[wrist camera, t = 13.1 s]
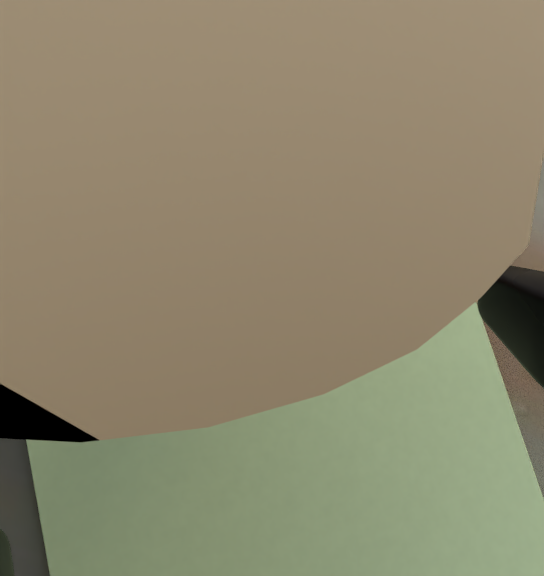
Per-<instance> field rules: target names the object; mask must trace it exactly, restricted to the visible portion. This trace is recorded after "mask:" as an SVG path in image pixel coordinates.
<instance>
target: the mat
mask: <svg viewBox="0 0 544 576" xmlns="http://www.w3.org/2000/svg"><path fill="white" fill-rule="evenodd" d="M26 442H27V448H28V454H29V459H30V465H31V471H32V477H33V482H34V488H35V494H36V499H37V505H38V511H39V516H40V522H41V528H42V533H43V539H44V545H45V550H46V556H47V562H48V567H49V573H50V576H544V499H543V496H542V493H541V490H540V487H539V484H538V481H537V478H536V476H535V473H534V470H533V467H532V464H531V461H530V458H529V455H528V452H527V449H526V446H525V443H524V441H523V438H522V435H521V432H520V429H519V426H518V423H517V420H516V417H515V414H514V411H513V409H512V406H511V403H510V400H509V397H508V394H507V391H506V388H505V385H504V382H503V379H502V376H501V374H500V371H499V368H498V365H497V362H496V359H495V356H494V353H493V350H492V347H491V344H490V342H489V339H488V336H487V333H486V330H485V327H484V324H483V321H482V318H481V316H480V314H479V311H478V307H477V304H476V302H475V303H474V304H472V305H471V306H470V307H469V308H468V309H466V310H465V311H464V312H463V313H461V314H460V315H459V316H458V317H456V318H455V319H454V320H453V321H452V322H450V323H449V324H448V325H447V326H445V327H444V328H443V329H442V330H440V331H439V332H438V333H437V334H436V335H434V336H433V337H432V338H431V339H429V340H428V341H427V342H426V343H424V344H423V345H422V346H421V347H420V348H418V349H417V350H415V351H413V352H411V353H409V354H407V355H405V356H402V357H400V358H398V359H396V360H394V361H392V362H390V363H388V364H386V365H384V366H382V367H380V368H378V369H375V370H373V371H371V372H369V373H367V374H365V375H363V376H361V377H359V378H357V379H355V380H353V381H351V382H348V383H346V384H344V385H342V386H340V387H338V388H336V389H334V390H332V391H330V392H328V393H326V394H323V395H320V396H316V397H313V398H309V399H306V400H302V401H299V402H295V403H292V404H288V405H285V406H281V407H278V408H274V409H271V410H267V411H264V412H260V413H257V414H253V415H250V416H246V417H243V418H239V419H236V420H232V421H229V422H225V423H222V424H218V425H215V426H211V427H208V428H199V429H191V430H183V431H174V432H166V433H157V434H149V435H141V436H132V437H124V438H116V439H107V440H99V441H90V442H81V443H80V442H62V441H44V440H26Z"/></svg>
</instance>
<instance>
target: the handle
mask: <svg viewBox="0 0 544 576" xmlns="http://www.w3.org/2000/svg"><path fill="white" fill-rule="evenodd" d="M543 154H544V0H0V438H7V439H25V440H44V441H62V442H80V443H81V442H90V441H99V440H107V439H116V438H124V437H132V436H141V435H149V434H157V433H166V432H174V431H183V430H191V429H199V428H208V427H211V426H215V425H218V424H222V423H225V422H229V421H232V420H236V419H239V418H243V417H246V416H250V415H253V414H257V413H260V412H264V411H267V410H271V409H274V408H278V407H281V406H285V405H288V404H292V403H295V402H299V401H302V400H306V399H309V398H313V397H316V396H320V395H323V394H326V393H328V392H330V391H332V390H334V389H336V388H338V387H340V386H342V385H344V384H346V383H348V382H351V381H353V380H355V379H357V378H359V377H361V376H363V375H365V374H367V373H369V372H371V371H373V370H375V369H378V368H380V367H382V366H384V365H386V364H388V363H390V362H392V361H394V360H396V359H398V358H400V357H402V356H405V355H407V354H409V353H411V352H413V351H415V350H417V349H418V348H420V347H421V346H422V345H423V344H424V343H426V342H427V341H428V340H429V339H431V338H432V337H433V336H434V335H436V334H437V333H438V332H439V331H440V330H442V329H443V328H444V327H445V326H447V325H448V324H449V323H450V322H452V321H453V320H454V319H455V318H456V317H458V316H459V315H460V314H461V313H463V312H464V311H465V310H466V309H468V308H469V307H470V306H471V305H472V304H474V303H475V302H476V301H477V300H479V299H480V298H481V297H482V296H483V295H484V294H485V293H486V291H487V290H488V289H489V288H490V287H491V286H492V285H493V284H494V283H495V282H496V280H497V279H498V278H499V277H500V276H501V275H502V274H503V273H504V272H505V271H506V269H507V268H508V267H509V266H510V265H511V264H512V263H513V262H514V261H515V260H516V258H517V257H518V256H519V255H520V254H521V253H522V252H523V251H524V250H525V249H526V247H527V246H528V245H529V241H530V235H531V228H532V222H533V216H534V210H535V204H536V198H537V191H538V185H539V179H540V173H541V167H542V161H543Z"/></svg>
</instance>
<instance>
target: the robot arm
mask: <svg viewBox="0 0 544 576" xmlns="http://www.w3.org/2000/svg"><path fill="white" fill-rule="evenodd" d="M478 311H479V314H480V316H481V317H482V319H483V320H484V322H485V323H486V324H487V325H488V326H489V327H490V328H491V330H492V331H493V332H494V333H495V334H496V335H497V337H498V338H499V339H500V340H501V341H502V342H503V344H504V345H505V346H506V347H507V348H508V349H509V351H510V352H511V353H512V354H513V355H514V356H515V358H516V359H517V360H518V361H519V362H520V363H521V365H522V366H523V367H524V368H525V369H526V370H527V371H528V372H529V374H530V375H531V376H532V377H533V378H534V379H535V380H536V381H537V382H538V383H539V384H540V385H541V386H542V387H543V388H544V272H542V271H537V270H532V269H526V268H521V267H516V266H509V267H508V268H507V269H506V271H505V272H504V273H503V274H502V275H501V276H500V277H499V278H498V279H497V280H496V282H495V283H494V284H493V285H492V286H491V287H490V288H489V289H488V290H487V291H486V293H485V294H484V295H483V296H482V297H481V298H480V299H479V300H478ZM0 576H14V569H13V562H12V555H11V548H10V544H9V541H8V538H7V536H6V535H5V533H4V532H3V531H2V530H1V529H0Z"/></svg>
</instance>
